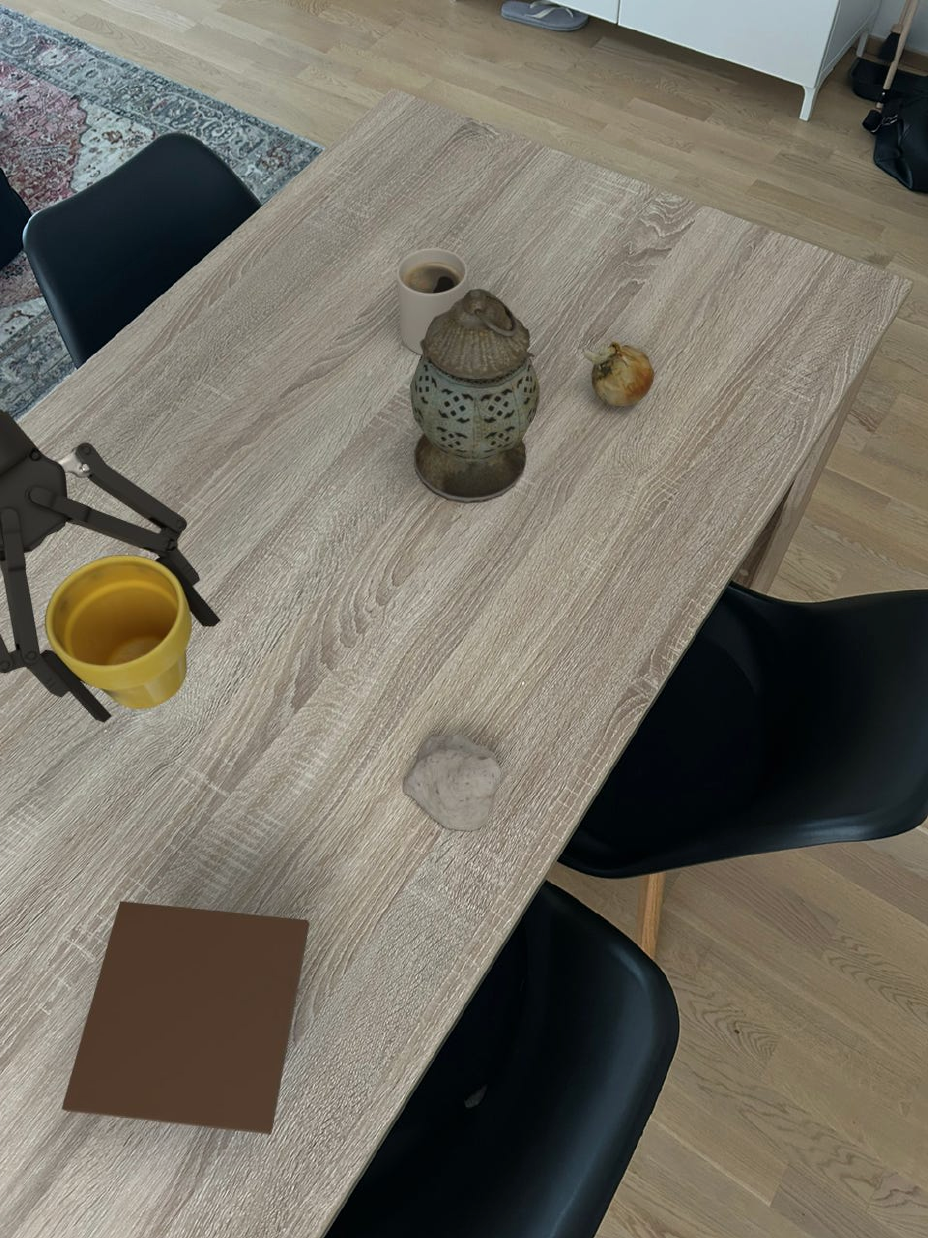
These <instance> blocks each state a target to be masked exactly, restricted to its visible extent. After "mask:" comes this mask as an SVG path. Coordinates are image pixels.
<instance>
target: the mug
mask: <svg viewBox="0 0 928 1238" xmlns="http://www.w3.org/2000/svg"><path fill="white" fill-rule="evenodd" d="M468 268H469V267H468V265H467V263H466V261H465V260H464V259H463V257H461V256H460V255H459V254H458V253H456V252H454V251H451V250H448V249H445V248H441V247H426V248H422V249H417V250H414V251H412V252H410V253H408V254H407V255H405V256H404V257H403V258H402V259H401V260H400V261H399V263H398V264H397V267H396V270H395V278H396V289H397V290H396V291H397V302H398V316H399V327H400V337H401V340H402V343H404V345H405V346H406V347H407V348H408V349H409V350H410V351H412V352H414V353H415V354H418V355H420V356H421V355H422V354H423V351H422V348H421V346H420V341H421V340H423V339H424V338H425V335H426V332H427V329H428V327H429V325H430V324H431V322H432V321H433V319H434V317H436V316H438V315H440V314H443V313H445V312H447V311H449V309H450V308H451V307H452V306H453V305H454V304H455V302H457V301H458V300H460V299H462V298H464V296H465V295H466V293H467V292H469V269H468Z"/></svg>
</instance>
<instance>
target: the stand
mask: <svg viewBox="0 0 928 1238" xmlns="http://www.w3.org/2000/svg"><path fill="white" fill-rule="evenodd" d="M114 917H115V918H114V921H113V925H112V929H111V932H110V935H109V939H108V942H107V945H106V950H105V952H104V957H103V960H102V963H101V967H100V972H99V974H98V978H97V980H96V981H97V982H96V985H95V989H94V993H93V996H92V1000H91V1003H90V1006H89V1010H88V1014H87V1017H86V1021H85V1025H84V1028H83V1032H82V1035H81V1039H80V1042H79V1046H78V1050H77V1053H76V1056H75V1060H74V1063H73V1066H72V1071H71V1074H70V1078H69V1082H68V1085H67V1088H66V1092H65V1096H64V1099H63V1103H62V1106H61V1110H62V1111H65V1112H70V1113H79V1114H87V1115H96V1116H97V1115H98V1116H105V1117H113V1118H121V1119H131V1120H141V1121H147V1122H157V1123H165V1124H175V1125H183V1126H191V1127H192V1126H193V1127H201V1128H208V1129H209V1128H210V1129H217V1130H218V1129H219V1130H227V1131H236V1132H244V1133H252V1134H261V1135H270V1136H271V1135H272V1134H273V1129H274V1124H275V1123H274V1122H275V1118H276V1112H277V1107H278V1101H279V1095H280V1089H281V1084H282V1079H283V1074H284V1073H283V1072H284V1068H285V1062H286V1056H287V1051H288V1046H289V1040H290V1034H291V1029H292V1025H293V1017H294V1012H295V1007H296V1001H297V995H298V991H299V990H298V989H299V986H300V978H301V974H302V970H303V969H302V968H303V963H304V957H305V951H306V947H307V940H308V935H309V930H310V922H309V920H308V919H301V918H293V917H292V918H291V917H289V918H288V917H281V916H271V915H263V914H251V913H242V912H232V911H231V912H230V911H221V910H211V909H202V908H192V907H183V906H182V907H180V906H173V905H163V904H152V903H142V902H133V901H124V900H123V901H121V900H120V901H119V903H118V907H117V910H116V914H115V916H114Z"/></svg>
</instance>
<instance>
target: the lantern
mask: <svg viewBox="0 0 928 1238" xmlns="http://www.w3.org/2000/svg"><path fill="white" fill-rule="evenodd" d="M530 339H531V333H530V330H529V328H526V326H524V324H523V323H522V322H521V321H520V319H518V318H517V317H516V316H515V315H514V313H513V311H512V310H511V309H510V307H508V306H507V304H506V303H505V302H504V301H502V300H501V299H500V298H499V297H498V296H496V295H495V294H493V293H491V292H490V291H488V290H486V289H483V288H475V289H471V290H468V292H467V293H466V295H465V296H464V298H462V299H460V300H458V301H457V302H455V304H454V305H453V306H452V307H451V308H450V309H449V311H447V312H445V313H443V314H440V315H438V316H436V317H434V319H433V321H432V322H431V324H430V325H429V327H428V329H427V332H426V335H425V338H424V339H423V340H421V341H420V346H421V348H422V351H423V354H422V355H421V354H420V356H419V360H418V362H417V365H416V368H415V371H414V373H413V376H412V378H411V381H410V384H409V393H410V394H409V395H410V403H411V404H410V405H411V409H412V415H413V420H414V421H415V422H416V424H417V425H418V427H419V428H420V430H421V431H422V433H423V434H422V435H421V437H420V438H419V439H418V440H417V442H416V446H415V449H414V452H413V461H414V471H415V473H416V475H417V477H418V478H419V480H420V482H421V484H422V485H423V486H425V487H426V489H428V490H429V491H430V492H431V493H432V494H434V495H436V496H438V497H441V498H443V499H445V500H448V501H451V502H456V503H462V504H475V503H485V502H488V501H491V500H494V499H497V498H499V497H502V496H503V495H505V494H506V493H508V492H509V491H510V490H511V489H513V488H514V487H516V485H517V484H518V482H519V480H520V479H521V478H522V477H523V474H524V471H525V467H526V462H527V454H526V453H527V452H526V443H524V441H523V438H524V436H525V434H526V433H527V431H528V429H529V427H530V426H531V425H532V424H531V423H532V422H533V420H534V419H535V416H536V413H537V410H538V408H539V405H540V396H541V395H540V394H541V393H540V392H541V391H540V390H541V389H540V388H541V387H540V383H539V379H538V376H537V373H536V369H535V367H534V365H533V363H532V360H531V358H535V356H536V355H535V354H534V353H533V352H529V351H528V350H529V348H530V346H531V340H530Z"/></svg>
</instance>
